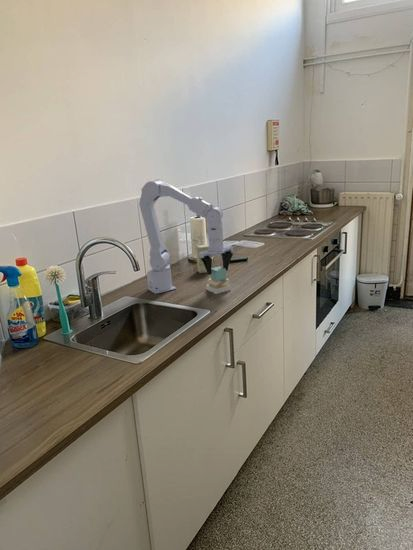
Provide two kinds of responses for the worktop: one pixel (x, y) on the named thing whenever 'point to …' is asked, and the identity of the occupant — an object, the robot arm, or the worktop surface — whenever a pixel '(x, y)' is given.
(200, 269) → the skincare box
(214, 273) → the teal cube
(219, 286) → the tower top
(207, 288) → the tower base
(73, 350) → the worktop surface
